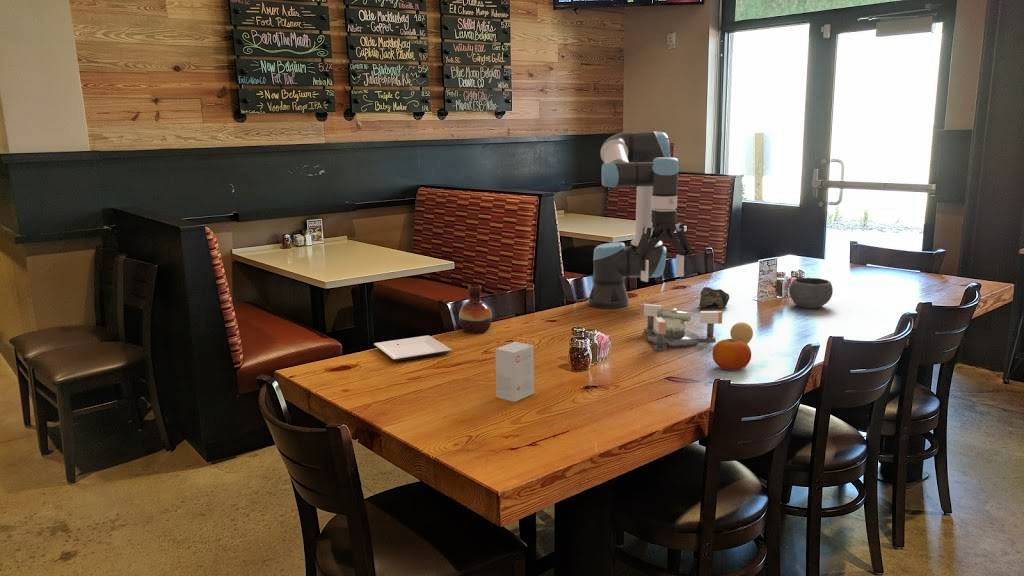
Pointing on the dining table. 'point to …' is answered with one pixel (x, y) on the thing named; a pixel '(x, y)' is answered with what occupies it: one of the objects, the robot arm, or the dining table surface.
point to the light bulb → (742, 332)
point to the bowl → (810, 292)
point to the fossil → (713, 298)
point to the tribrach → (675, 331)
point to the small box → (514, 371)
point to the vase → (475, 312)
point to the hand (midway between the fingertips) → (662, 278)
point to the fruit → (731, 354)
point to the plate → (412, 348)
